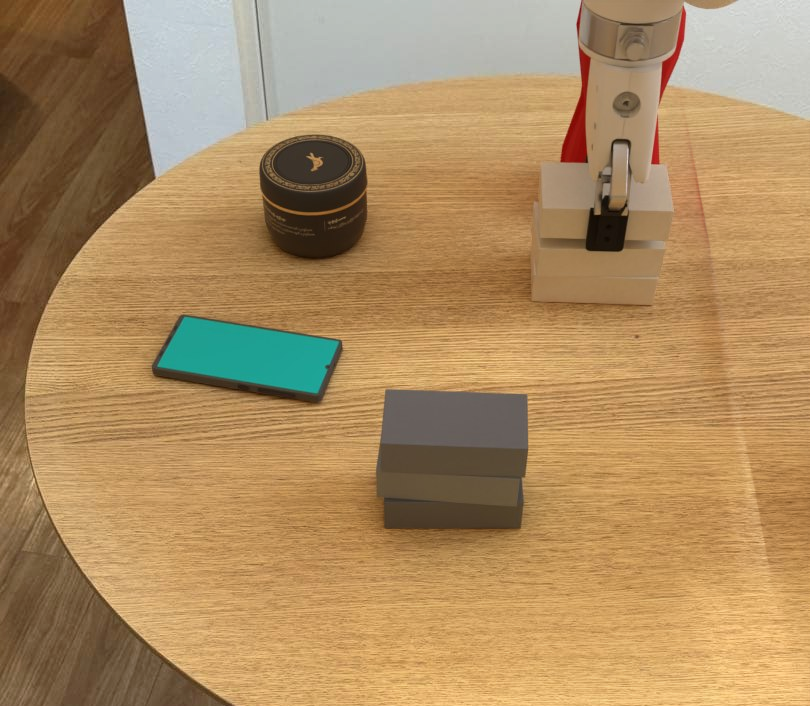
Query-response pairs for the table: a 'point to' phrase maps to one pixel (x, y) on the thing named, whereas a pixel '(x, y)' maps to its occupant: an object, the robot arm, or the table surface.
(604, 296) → the white pile
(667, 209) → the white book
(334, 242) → the jar
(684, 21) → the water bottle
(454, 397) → the grey pile
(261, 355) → the smartphone
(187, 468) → the table surface
